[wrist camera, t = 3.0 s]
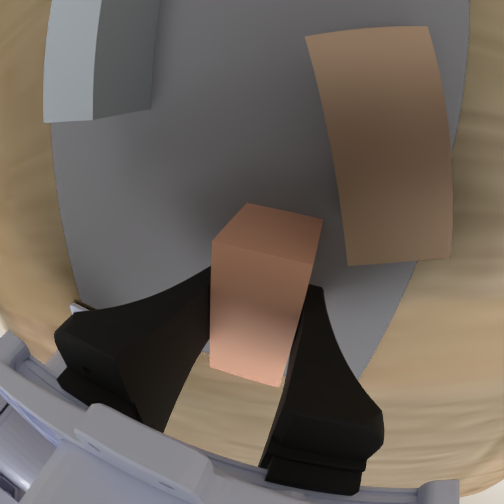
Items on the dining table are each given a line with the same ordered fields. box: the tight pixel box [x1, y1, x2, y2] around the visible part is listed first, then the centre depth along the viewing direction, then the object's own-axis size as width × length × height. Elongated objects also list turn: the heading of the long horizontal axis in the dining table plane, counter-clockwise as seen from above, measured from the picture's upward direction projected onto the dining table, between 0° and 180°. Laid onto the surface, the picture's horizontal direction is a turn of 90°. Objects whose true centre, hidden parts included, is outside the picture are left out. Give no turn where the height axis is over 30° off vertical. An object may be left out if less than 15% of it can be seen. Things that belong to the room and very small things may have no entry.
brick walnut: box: [305, 26, 453, 266], centre depth 8 cm, size 6×3×4 cm, turn 14°
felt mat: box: [51, 0, 469, 380], centre depth 12 cm, size 24×20×1 cm
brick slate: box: [43, 0, 160, 123], centre depth 9 cm, size 6×3×4 cm, turn 174°
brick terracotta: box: [210, 203, 323, 388], centre depth 12 cm, size 6×3×4 cm, turn 174°
